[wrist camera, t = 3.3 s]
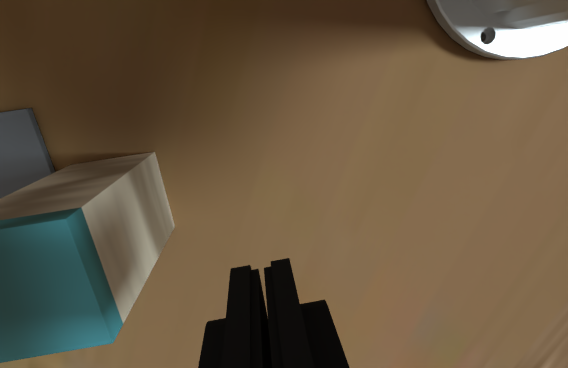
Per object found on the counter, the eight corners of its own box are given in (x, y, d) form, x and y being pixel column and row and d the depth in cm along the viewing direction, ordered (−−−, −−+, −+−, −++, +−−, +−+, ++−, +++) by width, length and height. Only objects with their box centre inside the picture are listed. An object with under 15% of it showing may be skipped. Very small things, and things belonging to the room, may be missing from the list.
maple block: (154, 151, 20) (65, 218, 11) (174, 226, 22) (113, 343, 12) (70, 164, 20) (-97, 244, 10) (97, 238, 21) (-27, 367, 12)
